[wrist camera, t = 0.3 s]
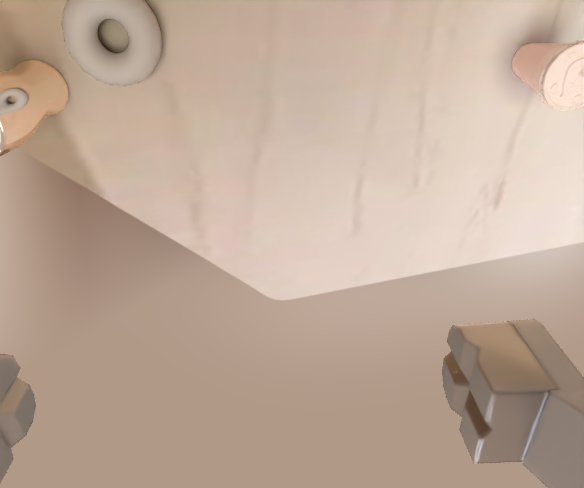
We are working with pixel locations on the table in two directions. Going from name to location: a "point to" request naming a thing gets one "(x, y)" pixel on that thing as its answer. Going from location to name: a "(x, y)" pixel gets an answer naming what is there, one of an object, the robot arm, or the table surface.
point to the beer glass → (28, 100)
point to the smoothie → (553, 72)
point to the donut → (98, 60)
